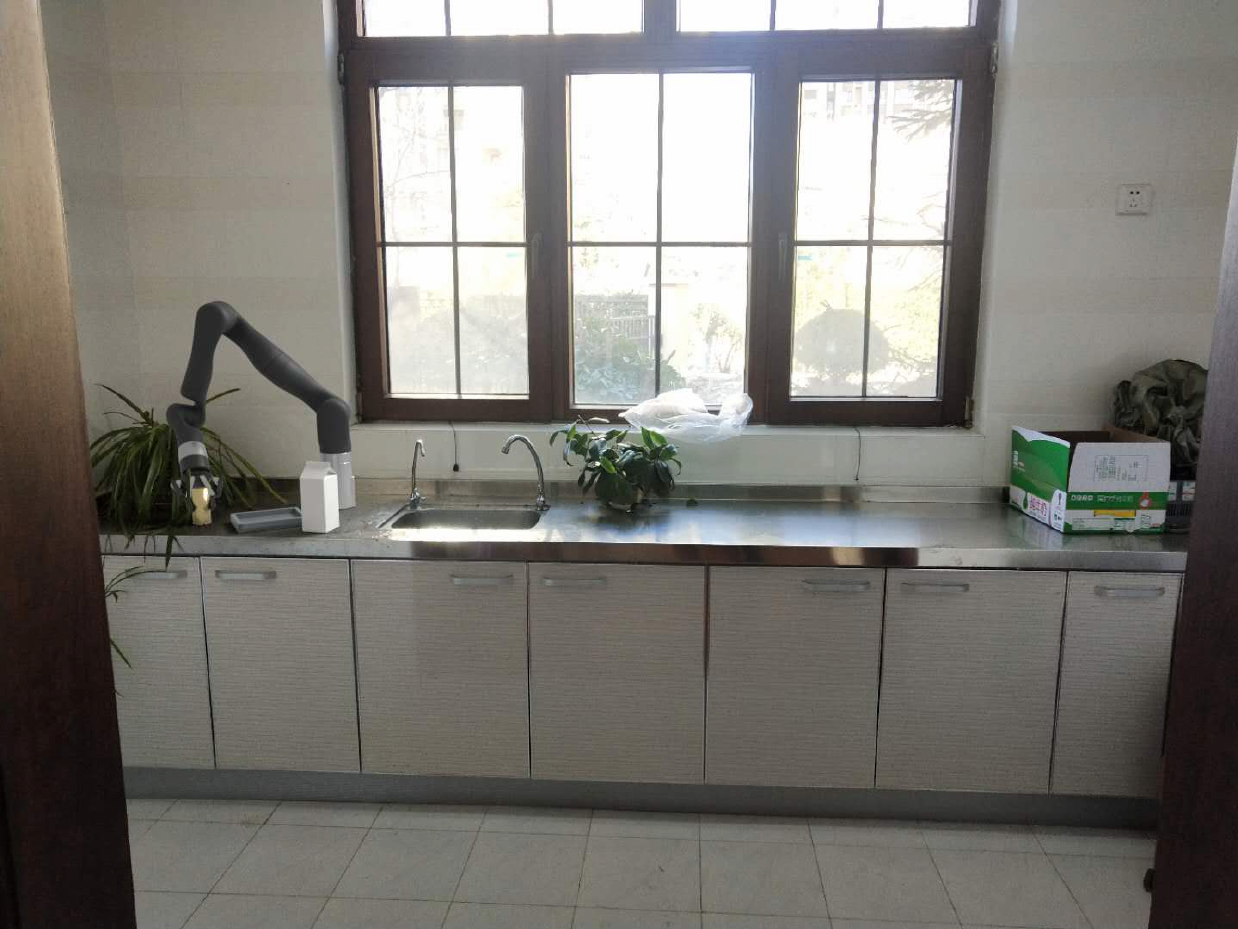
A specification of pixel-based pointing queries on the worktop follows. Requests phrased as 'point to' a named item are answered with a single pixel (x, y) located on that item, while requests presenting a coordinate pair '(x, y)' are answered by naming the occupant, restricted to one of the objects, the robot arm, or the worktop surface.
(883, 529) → the worktop surface
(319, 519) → the milk carton
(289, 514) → the tray
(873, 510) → the worktop surface
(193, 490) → the brass bushing
